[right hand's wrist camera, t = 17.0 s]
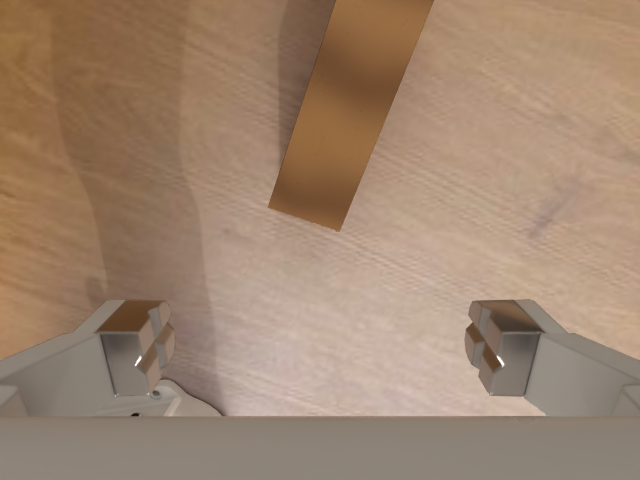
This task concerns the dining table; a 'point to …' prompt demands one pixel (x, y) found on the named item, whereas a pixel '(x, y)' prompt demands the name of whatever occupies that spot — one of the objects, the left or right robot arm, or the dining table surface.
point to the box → (346, 106)
